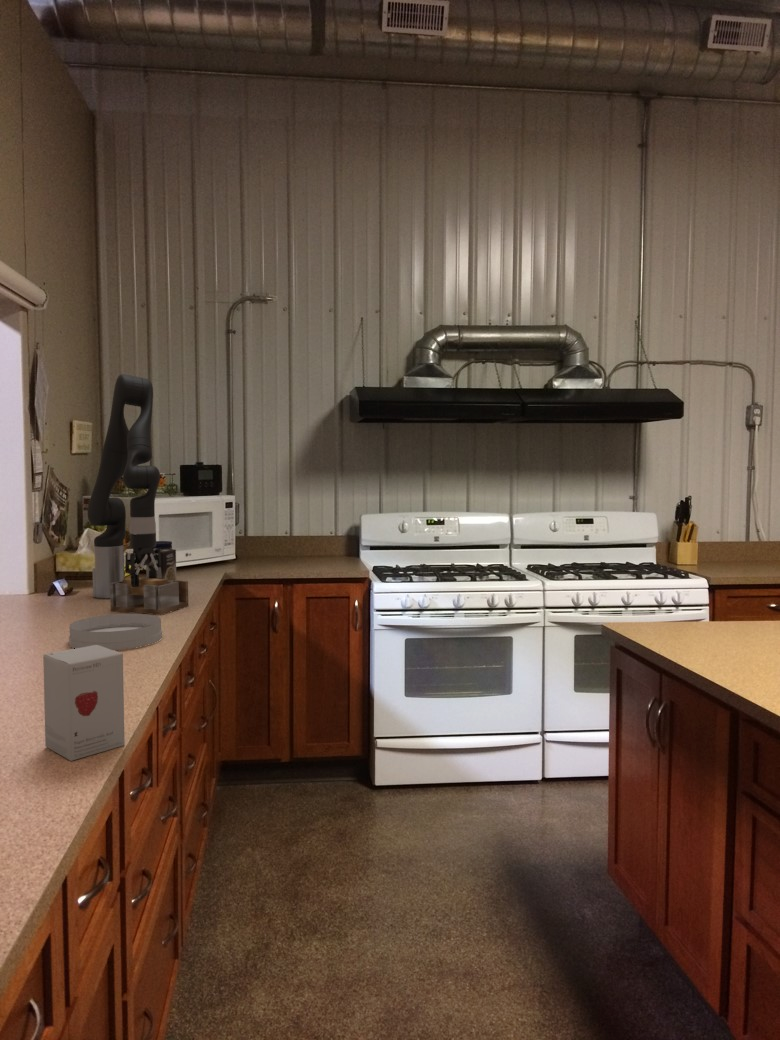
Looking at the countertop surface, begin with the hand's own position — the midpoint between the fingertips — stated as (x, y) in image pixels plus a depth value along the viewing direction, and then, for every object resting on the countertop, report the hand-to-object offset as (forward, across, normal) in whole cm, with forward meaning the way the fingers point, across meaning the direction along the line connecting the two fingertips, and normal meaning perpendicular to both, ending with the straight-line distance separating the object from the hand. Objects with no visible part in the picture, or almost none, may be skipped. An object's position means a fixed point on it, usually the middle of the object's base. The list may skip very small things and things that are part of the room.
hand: (144, 584), depth 226 cm
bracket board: (+8, -3, 0) cm, 8 cm away
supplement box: (+8, +96, +60) cm, 113 cm away
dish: (+8, +35, +18) cm, 40 cm away
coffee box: (+8, -18, -7) cm, 21 cm away
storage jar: (+8, -50, -30) cm, 58 cm away
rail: (+3, 0, 0) cm, 3 cm away
